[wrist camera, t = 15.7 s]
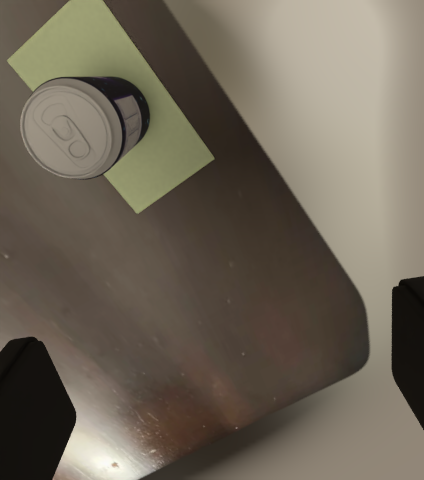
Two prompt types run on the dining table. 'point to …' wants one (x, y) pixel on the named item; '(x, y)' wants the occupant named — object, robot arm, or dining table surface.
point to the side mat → (131, 69)
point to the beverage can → (83, 124)
